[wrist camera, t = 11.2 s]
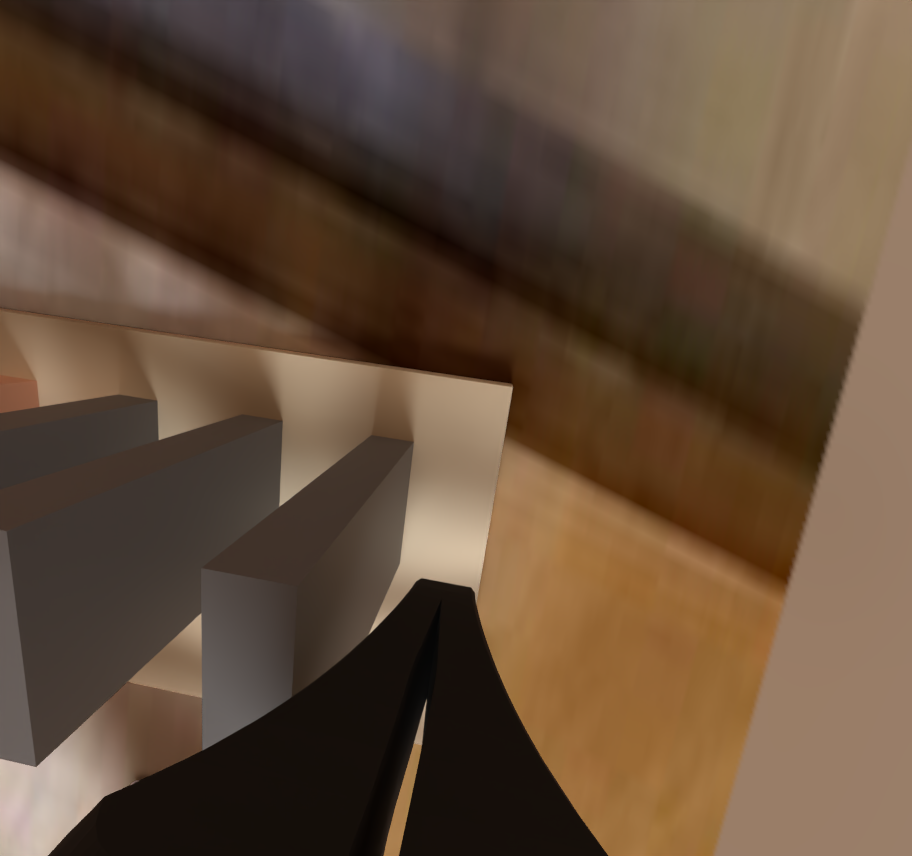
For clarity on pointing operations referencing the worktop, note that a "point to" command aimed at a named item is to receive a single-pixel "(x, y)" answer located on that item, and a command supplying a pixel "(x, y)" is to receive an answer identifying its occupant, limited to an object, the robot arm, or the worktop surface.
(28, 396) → the domino
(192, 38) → the worktop surface
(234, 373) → the birch board
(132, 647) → the domino
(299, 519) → the domino
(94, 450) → the domino
